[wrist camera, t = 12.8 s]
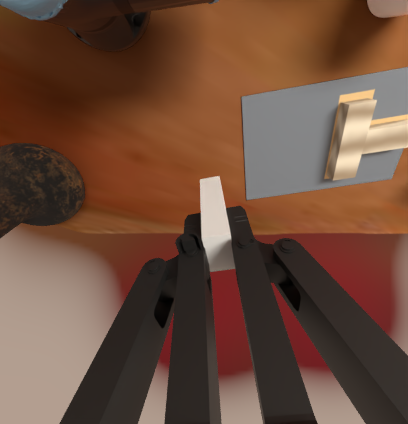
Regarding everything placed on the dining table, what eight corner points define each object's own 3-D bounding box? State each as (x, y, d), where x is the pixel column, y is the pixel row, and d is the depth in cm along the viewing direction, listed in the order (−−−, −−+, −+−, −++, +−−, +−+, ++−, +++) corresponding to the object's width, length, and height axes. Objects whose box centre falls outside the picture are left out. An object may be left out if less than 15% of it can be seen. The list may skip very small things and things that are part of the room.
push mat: (241, 96, 41) (241, 96, 41) (436, 61, 39) (437, 61, 39) (246, 199, 55) (246, 200, 55) (390, 178, 53) (391, 178, 52)
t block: (340, 102, 42) (349, 104, 40) (419, 88, 41) (433, 90, 39) (326, 174, 51) (332, 180, 49) (390, 165, 50) (400, 170, 48)
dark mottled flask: (-8, 156, 47) (-205, 245, 24) (51, 119, 43) (-118, 182, 20) (56, 214, 56) (-41, 318, 33) (109, 188, 52) (41, 286, 29)
